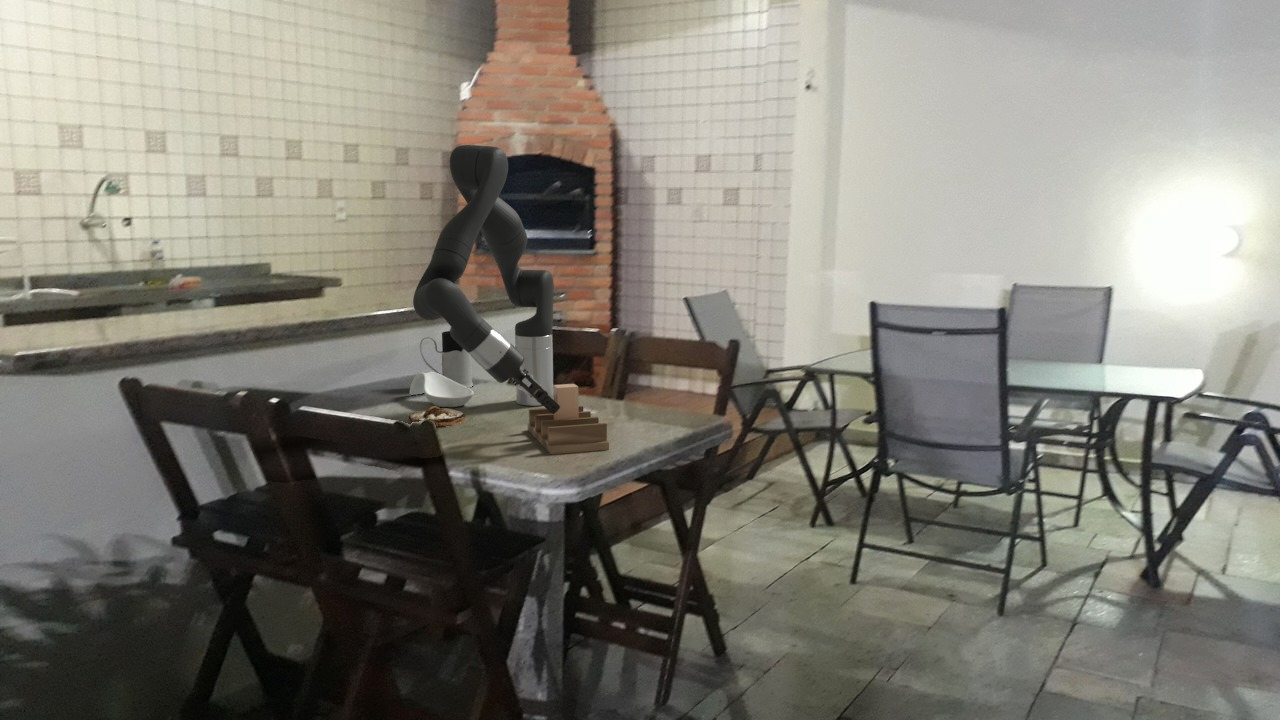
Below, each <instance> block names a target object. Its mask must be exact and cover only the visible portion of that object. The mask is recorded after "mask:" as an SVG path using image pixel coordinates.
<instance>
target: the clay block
mask: <svg viewBox="0 0 1280 720" xmlns="http://www.w3.org/2000/svg"><path fill="white" fill-rule="evenodd" d="M553 400H554V401H555V402H556V403H557V404H558V405H559V406H560V409H559V410H558V411H557V412H556V413H555V414H554V420H559V419H573V418H579V406H580V405H579V403H580V402H579V386H578V385H577V384H575V383H566V384H564V383H562V384H553Z"/></svg>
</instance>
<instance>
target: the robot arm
mask: <svg viewBox="0 0 1280 720" xmlns="http://www.w3.org/2000/svg"><path fill="white" fill-rule="evenodd" d="M449 157H450V158H449V168H450V169H449V170H450V173H451V177H452V180H453V183H454V184H455V186H456V188H457V190H458V192H459V193H460V194H461V196H462V197H463V199H464V201H465V202H466V205H465V206H464V207H462V209H461V210H460V211H458V212H457V213H456V214H455V215H454V216H453V217H452V218H450V220H448V222H447V223H446V224H445V226H444V227H443V228H442V230H441V232H440V234H439V236H438V239H437V241H436V245H435V247H434V250H433V252H432V255H431V259H430V262H429V264H428V265H427V267H426V269H425V271H424V273H423V274H422V276H421V278H420V280H419V282H418V284H417V285H416V288H415V291H414V292H413V293H414V294H413V300H412V301H413V302H412V303H413V305H412V306H413V309H414V311H415V312H416V315H418V317H419V318H421V319H422V320H425V321H433V320H437V319H440V318H443V319H444V320H445V321H446V322H447V323H448V325H449V326H450V329H449V331H450V335H451V337H452V338H453V339H454V340H455V341H456V342H457V343H458V344H459V345H460V346H461V347H462V348H463V349H464V350H466V351H467V352H468V353H469V354H470V355H471V359H473V361H474V362H476V363H477V364H478V365H479V366H480V368H482V369H483V370H484V371H486V372H487V374H489V375H490V376H491V377H492V378H493V379H494V380H495V381H496V382H498V383H500V384H503V383H505V382H508V380H509V379H512V381H511V383H512V385H514V386H515V391H516V392H515V394H516V395H515V396H516V399H515V400H516V404H518V405H520V406H521V405H522V406H534V407H535V406H536V407H537V406H543V408H547V409H548V410H549V411H550V412H551V413H552V414H555V413H556V412H557V411H558V410H559V409H560V406H559V405H558V404H557V403H556V402H555V401H554V396H553V385H554V360H553V359H554V351H553V345H554V344H553V324H554V323H553V322H554V298H555V297H554V295H555V293H554V292H555V291H554V289H555V287H554V285H555V284H554V278H553V275H552V273H551V272H550V271H549V270H547V269H546V270H545V269H522V268H520V266H519V264H518V263H519V262H520V260H521V258H522V256H523V255H524V253H525V250H526V249H527V248H526V247H527V245H528V235H527V231H526V229H525V227H524V223H523V221H522V219H521V218H520V216H519V214H518V213H517V211H516V210H515V209H514V208H513V207H512V206H510V205H509V204H508V203H507V202H505V201H504V200H503V199H502V198H501V197H499V195H500V194H501V192H502V190H503V188H504V185H505V183H506V180H507V178H508V172H509V161H508V156H507V154H506V152H505V150H503V149H502V148H500V147H498V146H492V145H491V146H490V145H475V144H462V145H457V146H456V147H455V148H453V150H452V152H451V153H450V156H449ZM480 231H481V233H482V235H483V238H484V240H485V242H486V244H487V246H488V249H489V250H490V252H491V254H492V256H493V258H494V260H495V263H496V265H497V267H498V270H499V272H500V276H501V279H502V282H503V286H504V288H505V291H506V294H507V296H508V299H509V301H510V303H511V304H512V305H514V306H515V307H519V308H536V310H535V313H534V315H533V316H531V317H530V318H527V319H523V320H522V321H519V322H517V323H515V325H514V326H515V327H514V340H515V341H514V345H513V344H512V343H511V342H510V341H509V340H508V339H507V338H506V337H505V336H504V335H503V334H502V333H500V332H499V331H497V330H496V329H495V328H493V327H492V325H490V324H489V322H487V321H486V320H485V319H484V318H483V317H481V316H480V315H479V314H478V313H477V311H476V310H475V308H474V306H473V305H472V303H471V302H470V301H469V298H467V296H466V294H465V293H464V292H463V291H462V289H461V288H460V287H459V286H458V285H457V284H456V283H457V281H459V278H460V277H462V276H463V275H464V273H465V271H466V269H467V265H468V262H469V259H470V257H471V254H472V251H473V248H474V245H475V242H476V239H477V237H478V235H479V233H480Z"/></svg>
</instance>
